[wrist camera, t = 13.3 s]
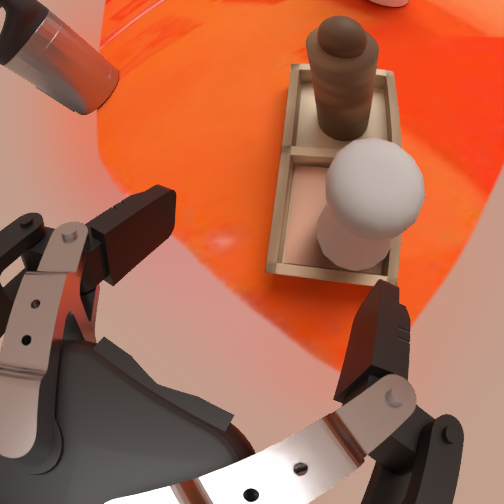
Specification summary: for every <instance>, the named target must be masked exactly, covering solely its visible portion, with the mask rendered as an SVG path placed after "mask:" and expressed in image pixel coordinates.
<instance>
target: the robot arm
mask: <svg viewBox="0 0 504 504" xmlns="http://www.w3.org/2000/svg"><path fill="white" fill-rule="evenodd" d="M1 7H3V8H4V9H5V11H6V17H5V22H4V26H3V29H2V31H1V34H0V64H1V65H4V66H5V67H6V68H8V69H10V70H11V71H13V72H14V73H16V74H18V75H20V76H21V77H23V78H24V79H26V80H27V81H29V82H31V83H32V84H34V85H35V86H36V88H37V89H39V90H40V91H42V92H44V93H45V94H47V95H48V96H50V97H51V98H53V99H55V100H56V101H58V102H59V103H61V104H62V105H64V106H66V107H67V108H69V109H70V110H72V111H73V112H74V111H76V112H77V113H79V114H81V115H86V114H89V113H91V112H93V111H94V110H96V109H97V108H98V107H100V106H101V105H102V104H103V103H104V102H105V101H106V100H107V98H108V97H109V96H110V95H111V93H112V92H113V90H114V88H115V86H116V85H117V82H118V79H119V72H118V70H117V69H116V68H115V67H114V66H113V65H112V64H110V63H109V62H108V61H107V60H106V59H105V58H104V57H103V56H102V55H101V54H100V53H98V52H97V51H96V50H95V49H94V48H93V47H91V45H89V44H88V43H87V42H86V41H85V40H84V39H83V38H81V37H80V36H79V35H78V34H77V33H76V32H74V31H73V30H72V29H71V28H70V27H69V26H68V25H66V24H65V23H64V22H63V21H62V20H60V19H59V18H58V17H57V16H56V15H54V14H53V13H52V12H51V11H50V10H49V9H47V8H46V7H45V6H43V5H42V4H41V3H40V2H38V1H37V0H0V8H1ZM175 209H176V192H175V191H174V190H171V189H169V188H166V187H164V186H161V185H155V186H153V187H151V188H150V189H148V190H146V191H145V192H141V193H137V194H134V195H131V196H129V197H127V198H126V199H124V200H122V201H121V203H118V204H116V205H114V206H113V208H110V209H108V210H106V211H105V212H103V213H102V214H100V215H99V216H97V217H96V218H94V219H93V220H91V221H90V222H88V223H87V224H85V225H84V224H83V223H80V222H69V223H65V224H63V225H61V226H59V227H58V228H56V229H53V228H49V227H45V226H44V222H43V218H42V216H41V215H40V214H38V213H28V214H25V215H23V216H21V217H19V218H18V219H16V220H15V221H14V222H12V223H11V224H9V225H8V226H7V227H5V228H4V229H3V230H1V231H0V275H1V273H2V272H3V270H4V269H5V268H7V267H8V266H9V265H10V264H11V263H12V262H14V261H15V260H16V259H17V258H18V257H19V256H21V258H22V261H23V263H24V266H25V268H24V269H23V270H22V271H21V272H20V273H19V274H18V275H17V276H15V277H14V278H13V279H12V280H11V281H10V282H9V283H8V284H7V285H6V286H5V287H2V286H1V283H0V338H1V336H2V335H3V334H4V333H5V335H4V339H3V343H2V347H1V352H0V504H307V503H309V502H311V501H312V500H314V499H315V498H317V497H318V496H320V495H322V494H323V493H325V492H326V491H327V490H329V489H331V488H332V487H333V486H335V485H336V484H338V483H339V482H340V481H342V480H343V479H345V477H347V476H349V475H350V474H351V473H352V472H354V471H355V470H356V469H358V468H359V467H360V466H361V465H362V464H363V463H364V458H365V457H366V456H367V455H369V456H370V457H371V458H373V459H374V460H376V463H375V466H374V469H373V472H372V475H371V478H370V481H369V484H368V486H367V489H366V492H365V494H364V497H363V500H362V502H361V504H452V503H453V499H454V495H455V490H456V486H457V481H458V476H459V470H460V464H461V457H462V450H463V441H464V433H463V429H462V426H461V424H460V423H459V421H458V420H457V419H456V418H455V417H453V416H452V415H448V414H445V415H442V416H440V417H438V418H436V419H434V418H433V417H431V416H430V415H429V414H427V413H426V412H425V411H423V410H422V409H421V408H420V407H418V406H417V405H416V394H415V391H414V389H413V387H412V385H411V384H410V383H409V382H408V368H409V351H410V344H409V342H410V317H409V314H408V312H407V309H406V306H404V305H401V304H399V287H397V286H395V285H393V284H391V283H388V282H386V281H384V280H382V279H379V280H378V281H377V282H376V284H375V285H374V287H373V288H372V290H371V291H370V293H369V294H368V296H367V297H366V299H365V300H364V302H363V303H362V305H361V306H360V308H359V310H358V311H357V314H356V316H355V318H354V321H353V325H352V329H351V334H350V338H349V342H348V347H347V351H346V355H345V359H344V363H343V367H342V370H341V374H340V378H339V381H338V385H337V389H336V392H335V395H334V399H333V400H335V401H338V402H341V403H343V404H342V407H341V408H339V409H338V410H336V411H335V412H333V413H330V414H328V415H326V416H325V417H323V418H321V419H320V420H318V421H316V422H315V423H313V424H311V425H310V426H308V427H306V428H305V429H303V430H301V431H299V432H298V433H296V434H294V435H293V436H290V437H288V438H286V439H285V440H283V441H281V442H279V443H277V444H275V445H273V446H271V447H269V448H267V449H265V450H263V451H261V452H259V453H257V454H256V453H255V451H254V449H253V447H252V446H251V444H250V442H249V441H248V440H247V438H246V437H245V436H244V435H243V434H242V433H241V432H240V431H239V429H238V428H236V427H235V426H234V425H233V424H231V423H230V422H231V420H232V418H233V416H234V415H233V414H231V413H229V412H227V411H225V410H223V409H221V408H219V407H217V406H215V405H213V404H211V403H209V402H207V401H205V400H203V399H201V398H200V397H197V396H194V395H190V394H187V393H183V392H180V391H176V390H173V389H170V388H167V387H164V386H161V385H159V384H157V383H156V382H154V381H153V380H152V378H150V376H148V374H147V373H146V372H145V371H144V370H143V369H142V368H141V367H140V365H139V364H138V363H137V362H136V361H135V360H134V359H133V358H132V356H131V355H129V354H128V353H126V352H125V351H123V350H122V349H121V348H119V347H118V346H116V345H115V344H113V343H112V342H111V341H109V340H108V339H107V338H105V337H103V338H102V339H101V341H99V343H96V338H95V320H96V312H97V304H98V298H99V291H100V286H99V283H100V282H101V281H102V280H105V281H106V282H108V283H109V284H110V285H112V286H114V285H115V284H116V283H117V282H118V281H120V280H121V279H122V278H123V277H124V276H125V275H126V274H127V273H128V272H130V271H131V270H132V269H133V268H134V267H135V266H136V265H137V264H139V263H140V262H141V261H142V260H143V259H144V258H145V257H147V256H148V255H149V254H150V253H151V252H152V251H154V250H155V249H156V248H157V247H158V246H159V245H161V244H162V243H163V242H164V241H165V240H166V239H168V238H169V236H170V235H171V233H172V231H173V229H174V225H175Z"/></svg>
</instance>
